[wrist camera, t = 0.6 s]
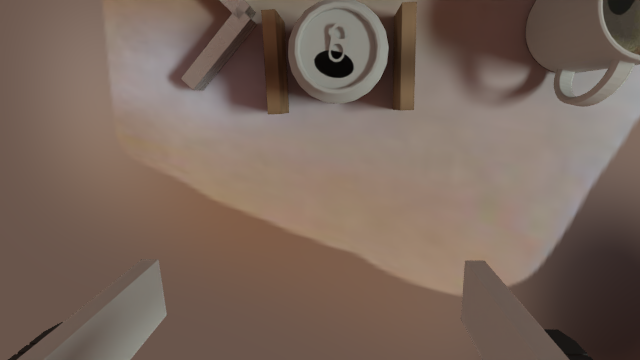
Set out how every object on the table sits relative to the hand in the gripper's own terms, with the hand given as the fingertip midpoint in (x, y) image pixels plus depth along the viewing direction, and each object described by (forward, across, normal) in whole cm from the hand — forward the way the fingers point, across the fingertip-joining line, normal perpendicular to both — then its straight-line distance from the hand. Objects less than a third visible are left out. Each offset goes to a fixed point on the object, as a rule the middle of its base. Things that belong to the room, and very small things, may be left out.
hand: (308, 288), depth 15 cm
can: (+24, +1, +11) cm, 27 cm away
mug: (+24, +23, +13) cm, 36 cm away
